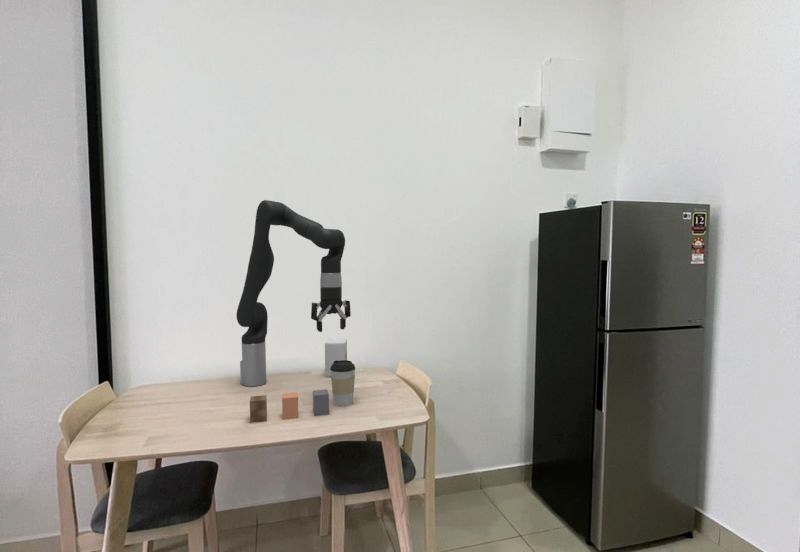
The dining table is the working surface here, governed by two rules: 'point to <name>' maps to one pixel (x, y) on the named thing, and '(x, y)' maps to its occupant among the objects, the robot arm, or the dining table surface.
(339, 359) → the supplement box
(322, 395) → the charcoal block
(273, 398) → the dining table surface
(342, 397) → the coffee cup
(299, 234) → the robot arm
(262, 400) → the walnut block
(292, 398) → the terracotta block
